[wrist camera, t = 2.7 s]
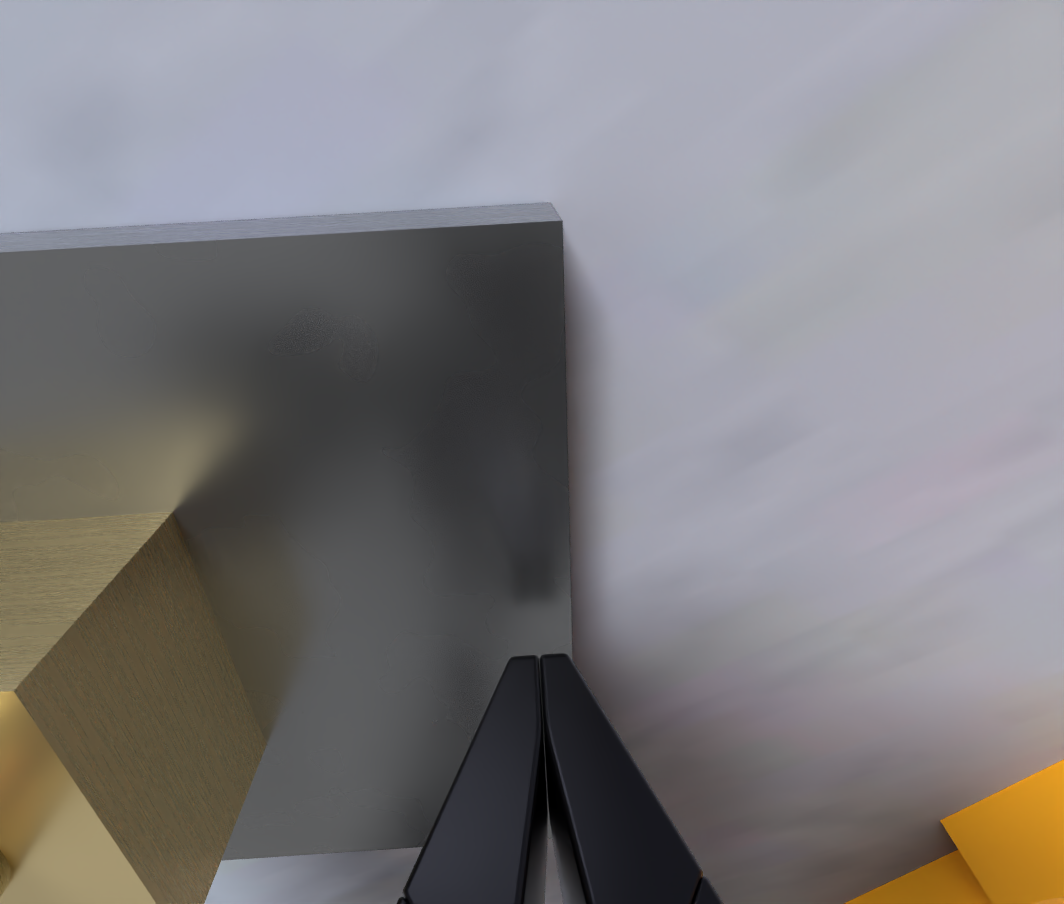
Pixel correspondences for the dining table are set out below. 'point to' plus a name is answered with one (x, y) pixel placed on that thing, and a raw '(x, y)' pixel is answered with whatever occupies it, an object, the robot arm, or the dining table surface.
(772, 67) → the dining table surface
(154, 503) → the dark grey slab
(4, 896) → the gold block with knob
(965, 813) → the pipe clamp
